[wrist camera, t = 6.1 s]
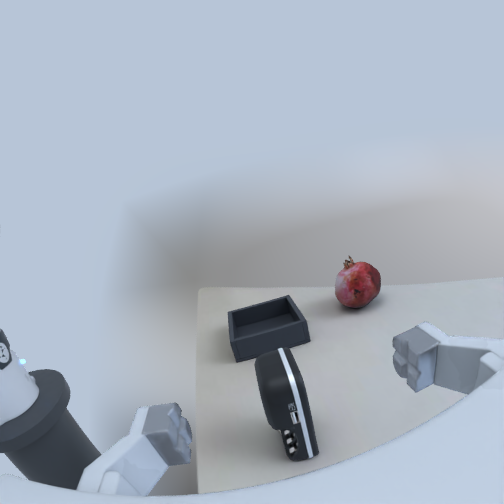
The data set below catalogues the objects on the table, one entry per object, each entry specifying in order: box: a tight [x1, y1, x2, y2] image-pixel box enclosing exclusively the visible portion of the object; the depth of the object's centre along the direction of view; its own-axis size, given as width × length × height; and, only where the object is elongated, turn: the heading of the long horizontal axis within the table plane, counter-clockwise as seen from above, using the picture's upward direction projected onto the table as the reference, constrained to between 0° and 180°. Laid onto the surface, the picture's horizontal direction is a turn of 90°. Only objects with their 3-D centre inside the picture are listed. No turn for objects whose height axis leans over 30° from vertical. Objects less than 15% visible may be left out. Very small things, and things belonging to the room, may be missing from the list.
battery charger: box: [255, 347, 319, 460], centre depth 25 cm, size 7×4×11 cm, turn 6°
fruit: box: [335, 256, 381, 308], centre depth 53 cm, size 9×10×10 cm
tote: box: [228, 295, 310, 362], centre depth 51 cm, size 13×13×4 cm
